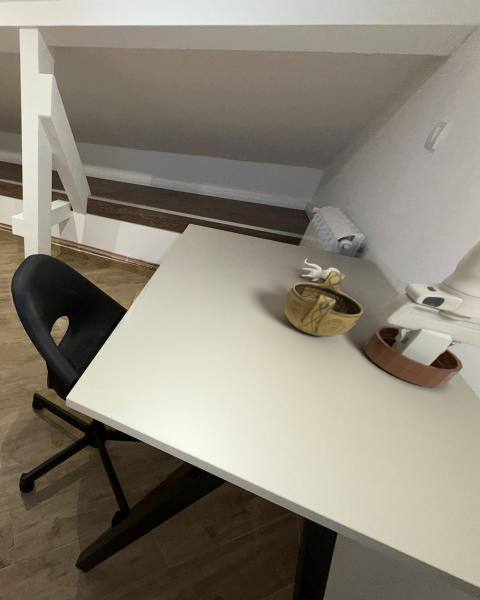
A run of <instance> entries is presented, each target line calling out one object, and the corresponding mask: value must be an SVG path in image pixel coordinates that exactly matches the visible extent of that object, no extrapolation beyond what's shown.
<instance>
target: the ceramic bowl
mask: <svg viewBox="0 0 480 600" xmlns="http://www.w3.org/2000/svg"><path fill="white" fill-rule="evenodd" d="M339 272H340V271H339ZM339 272H336V271H331V272H330V273H329V275H328V276H327V278H326V279H324V281H323V282H322V283H314V282H306V281H305V282H303V281H299V282H296V283H294V284H293V285H292V287H291V288H290V289H289V292H288V293H287V295H286V297H285V300H284V305H283V310H284V314H285V316H286V319H287V320H288V322H290V324H291V325H292V326H294V327H295V328H296V329H297V330H300V331H301V332H304V333H305V334H308V335H311V336H315V337H324V338H326V337H327V338H328V337H329V338H330V337H336V336H337V337H338V336H340V335H343V334H345V333H347V332H348V331H350V330H351V329H352V328H353V327H354V326H355V325H356V324H357V323H358V322H359V320H360V318H361V316H362V315H363V313H364V308H363V306H362V304H360V303H359V302H358V301H357V300H356V299H354V298H353V297H351V296H350V295H349V294H346V293H344V292H342V291H341V290H340V287H341V284H342V282H343V281H344V278H345V277H346V274H344V273H341V272H340V273H339Z"/></svg>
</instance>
